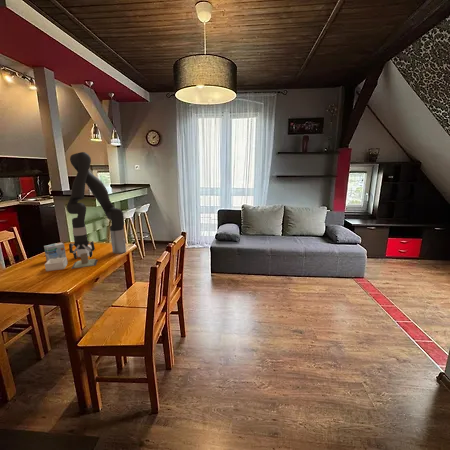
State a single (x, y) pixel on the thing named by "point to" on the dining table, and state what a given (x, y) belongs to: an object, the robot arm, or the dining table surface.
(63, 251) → the light bulb box
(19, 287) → the dining table surface
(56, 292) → the dining table surface
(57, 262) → the white open box
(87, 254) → the medicine bottle
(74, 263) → the mat
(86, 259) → the lid
